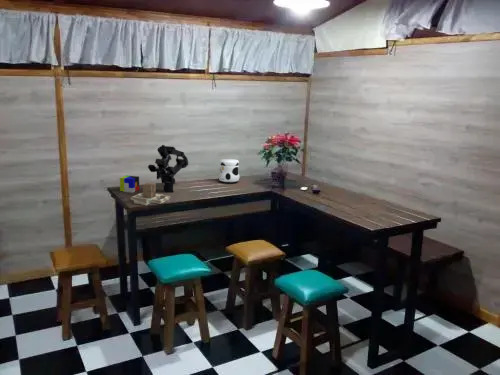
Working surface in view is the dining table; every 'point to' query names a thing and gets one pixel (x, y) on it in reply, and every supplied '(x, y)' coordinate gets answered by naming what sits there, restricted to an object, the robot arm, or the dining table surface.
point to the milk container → (229, 170)
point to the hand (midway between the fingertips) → (157, 179)
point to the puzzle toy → (129, 183)
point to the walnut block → (149, 190)
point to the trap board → (144, 201)
